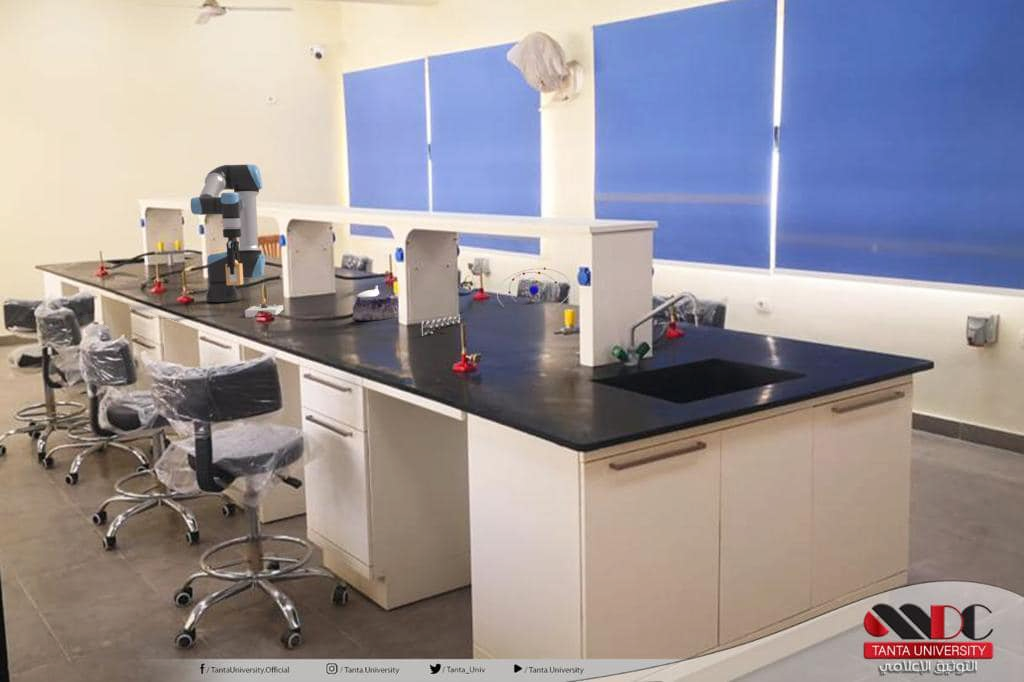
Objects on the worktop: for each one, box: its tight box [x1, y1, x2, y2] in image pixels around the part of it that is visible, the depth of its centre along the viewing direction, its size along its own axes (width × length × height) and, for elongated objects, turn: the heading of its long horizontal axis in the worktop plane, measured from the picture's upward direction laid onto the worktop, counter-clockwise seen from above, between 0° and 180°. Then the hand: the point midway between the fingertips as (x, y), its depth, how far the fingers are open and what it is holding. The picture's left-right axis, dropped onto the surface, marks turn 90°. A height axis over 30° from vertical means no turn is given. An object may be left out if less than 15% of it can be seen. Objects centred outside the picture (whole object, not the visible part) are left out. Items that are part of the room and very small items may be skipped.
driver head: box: [356, 285, 380, 298], centre depth 478 cm, size 10×11×12 cm
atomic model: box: [496, 267, 572, 307], centre depth 433 cm, size 28×21×30 cm
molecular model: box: [421, 314, 461, 337], centre depth 379 cm, size 25×9×6 cm, turn 146°
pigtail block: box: [244, 298, 284, 318], centre depth 435 cm, size 18×13×7 cm
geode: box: [352, 297, 399, 322], centre depth 408 cm, size 20×12×10 cm, turn 133°
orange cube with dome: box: [225, 260, 244, 286], centre depth 436 cm, size 6×6×11 cm
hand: (234, 281), depth 437 cm, fingers closed on orange cube with dome, 6 cm apart
